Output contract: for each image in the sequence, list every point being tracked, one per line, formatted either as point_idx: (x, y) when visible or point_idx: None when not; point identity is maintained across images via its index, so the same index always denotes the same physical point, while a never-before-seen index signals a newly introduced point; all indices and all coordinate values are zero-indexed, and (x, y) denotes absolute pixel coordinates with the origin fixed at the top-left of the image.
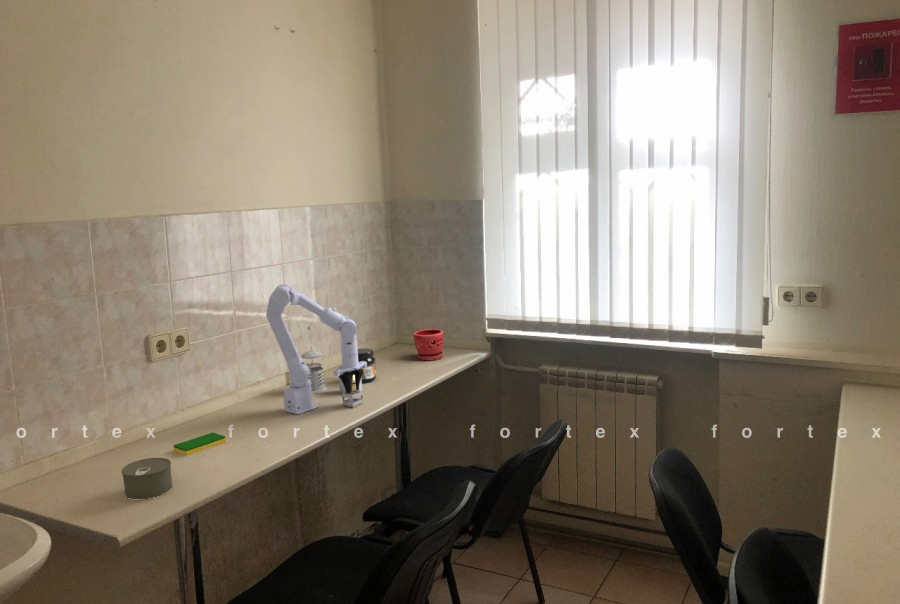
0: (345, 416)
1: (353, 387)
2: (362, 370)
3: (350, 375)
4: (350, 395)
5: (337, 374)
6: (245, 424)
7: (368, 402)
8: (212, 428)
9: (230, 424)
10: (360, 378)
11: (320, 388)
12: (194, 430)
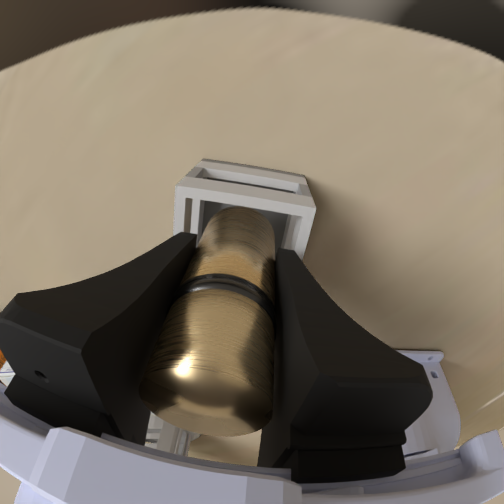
0: (460, 137)
1: (252, 260)
2: (11, 331)
3: (410, 383)
4: (310, 229)
5: (501, 450)
6: (491, 390)
7: (159, 146)
8: (495, 410)
9: (482, 408)
10: (108, 276)
11: (156, 418)
12: (495, 418)
